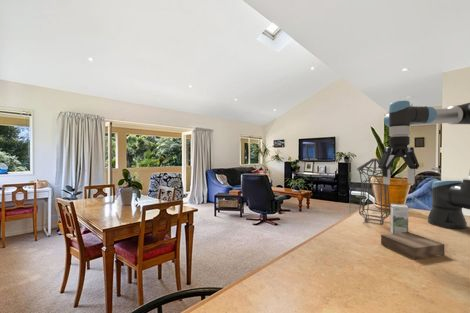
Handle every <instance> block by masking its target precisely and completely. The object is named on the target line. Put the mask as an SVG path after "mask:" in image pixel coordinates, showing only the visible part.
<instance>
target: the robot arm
mask: <svg viewBox="0 0 470 313" xmlns="http://www.w3.org/2000/svg"><path fill="white" fill-rule="evenodd" d="M383 123H384V125H385V126H386V127H388V130H389V131H388V136H390V137H389V138H388V145H389V146H386V147H384V148H383V153H382V156H381V158H380V160H379V161H380V163H379V165H378V164H377V165H378V166H377V167H379V168H378V169H380V170H381V169H382V171H381V172H382V174H381V176H382V178H383V179H382V181H383V182H382V184H387V185H388V186H389V185H391V174H390V170H388V168H389V167H390V166H391V167H392V164H393V162H394V161H395V160H396V159H397V158H402V160H403V162H404V163H405V164H406V166H407V167H408V168H407V179H406V180H407V181H406V182H407V184H416V182H415V180H416V179H415V177H416V170H418V169H419V168H420V164H419V161H418V159H417V155H416V153H415V149H414V148H415V147H413V146H409V145H410V143H411V142H410V141H411V138H410V135H411V133H410V130H411V128H410V126H422V125H423V126H424V125H435V124H449V125H470V102H466V103H463V104H458V105H451V106H449V107H447V108H445V107H444V108H434V106H427V105H425V106H419V105H418V106H411V102H410V101H409V100H397V101H393V102H391V103H390V104H389V108H388V113H387V114H386V115H385V116H384V118H383ZM463 209H464V210H465V209H466V210H470V170H469V172H468V176H467V177H465V178H463V179H462V180H434V181H433V182H432V184H431V210H430V212H429V214H428V216H427V223H428V224H430V225H434V226H437V227H441V228H446V229H447V228H448V229H456V230H458V229H461V230H463V229H467V228H468V224H467V223H468V222H467V221H466V218H465V216H464V212H463Z"/></svg>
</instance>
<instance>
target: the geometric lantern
mask: <svg viewBox="0 0 470 313" xmlns="http://www.w3.org/2000/svg"><path fill="white" fill-rule="evenodd" d="M379 163H380V160H379V159H378V158H371V159H370V160H369V161H366V162H365V163H364V164H362V165H360V166H359V167H357V168H356V170H357V171H358V173H359V177H360V178H359V179H360V183H361V187H360V195H359V197H360V198H359V199H360V200H359V209H358V214H359V215H360V216H361V217H362V218H364V222H365V223H370V224H375V225H383V224H384V221H385V219H387V218H389V216H391V203H390V190H389V185H387V184H383V180H379V179H378V177H377V176H379V175H382V169H380V168H379V167H378V166H377V165H379ZM372 165H373V167H372ZM379 169H380V170H379ZM393 169H394V167H393V166H392V165H391V166H390V167H389V168H388V170H390V175H391V174H392V171H393ZM365 171H366V172H365ZM370 172H371V173H372V174H369V173H370ZM362 175H363V176H364V178H365V180H362ZM366 175H367V177H366ZM369 177H370V178H369ZM372 177H374V178H375V180H374V182H378V183H373V185H375V186H376V185H378V186H380V187H379V188H380V191H379V192H380V210H378V209H370V208H369V205H370V185H372V183H371V179H372ZM367 185H368V189H367ZM382 186H383V188H384V190H382ZM367 190H368V191H367ZM366 191H367V192H366ZM383 192H384V194H382V193H383ZM366 193H367V208H365V204H366ZM382 195H384V206H385V207H384V211H383V196H382ZM387 206H388V209H387ZM361 207H362V208H361ZM361 209H362V210H361ZM387 210H388V211H387ZM366 211H367V212H366ZM369 211H373V212H379V213H380V215H374V214H373V215H372V214H369ZM378 218H379V219H378ZM368 220H372V221H377V222H372V221H368Z"/></svg>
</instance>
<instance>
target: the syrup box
mask: <svg viewBox="0 0 470 313" xmlns="http://www.w3.org/2000/svg"><path fill="white" fill-rule="evenodd" d="M389 228H390V229H389V230H390V233H389V234H393V233H402V232H409V207H408V205H407V204H405V203H404V204H403V203H401V204H400V203H390V227H389Z"/></svg>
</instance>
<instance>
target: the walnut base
mask: <svg viewBox="0 0 470 313" xmlns="http://www.w3.org/2000/svg"><path fill="white" fill-rule="evenodd" d="M380 245H382V246H384V247H385V248H388V249H389V250H393V251H395V252H397V253H399V254H401V255H404V256H406V257H409V258H411V259H412V260H419V259H426V258H433V257H440V256H445V243H442V242H439V241H435V240H433V239H430V238H427V237H424V236H421V235H418V234H416V233H413V232H410V231H408V232H402V233H393V234H391V233H384V234H380Z"/></svg>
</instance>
